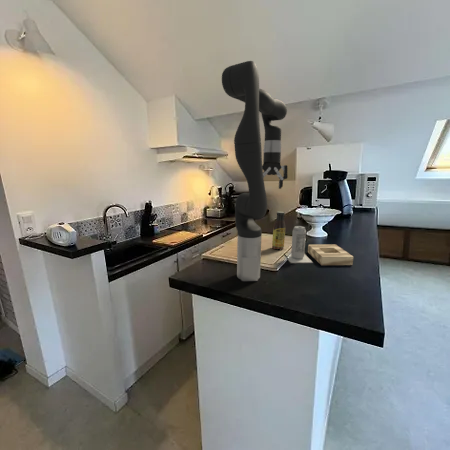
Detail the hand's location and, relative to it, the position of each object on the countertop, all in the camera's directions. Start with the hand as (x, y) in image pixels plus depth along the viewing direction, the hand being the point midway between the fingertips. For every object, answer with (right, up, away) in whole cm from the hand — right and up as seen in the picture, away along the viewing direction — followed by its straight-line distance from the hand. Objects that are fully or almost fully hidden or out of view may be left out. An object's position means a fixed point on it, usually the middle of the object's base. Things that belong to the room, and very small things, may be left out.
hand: (270, 188), depth 118 cm
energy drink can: (+14, -32, +6) cm, 36 cm away
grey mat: (+14, -33, +6) cm, 36 cm away
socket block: (+29, -33, +6) cm, 44 cm away
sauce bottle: (+8, -29, +20) cm, 37 cm away
